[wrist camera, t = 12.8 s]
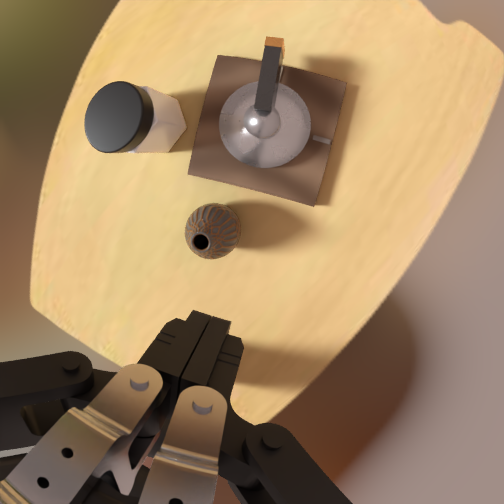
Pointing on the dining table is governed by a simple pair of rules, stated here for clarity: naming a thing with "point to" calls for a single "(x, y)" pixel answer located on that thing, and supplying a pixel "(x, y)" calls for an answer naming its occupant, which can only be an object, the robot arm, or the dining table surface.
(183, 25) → the dining table surface
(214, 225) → the vase
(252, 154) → the knob
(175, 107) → the jar
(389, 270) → the dining table surface
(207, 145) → the base
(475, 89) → the dining table surface
